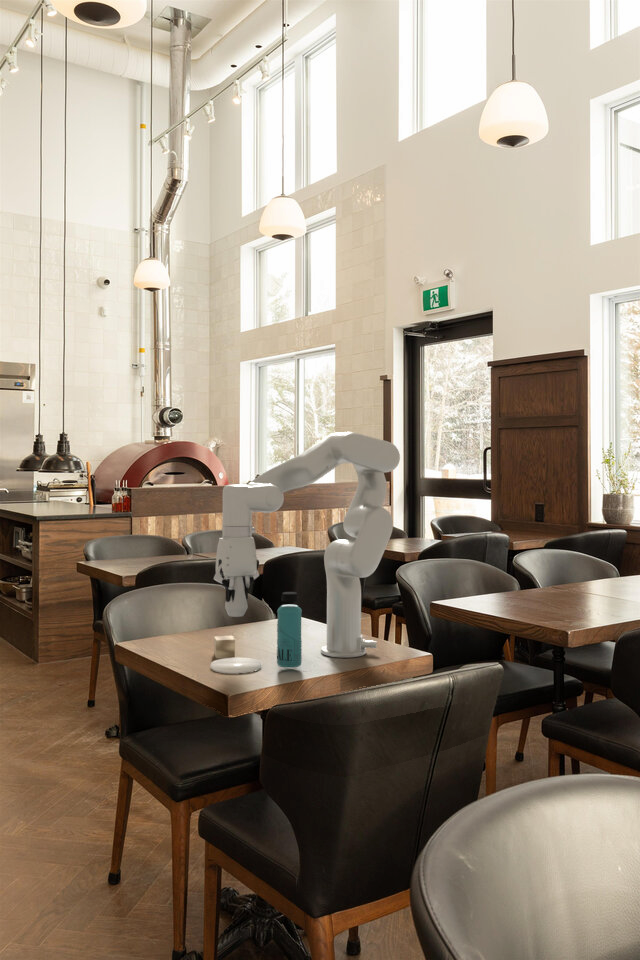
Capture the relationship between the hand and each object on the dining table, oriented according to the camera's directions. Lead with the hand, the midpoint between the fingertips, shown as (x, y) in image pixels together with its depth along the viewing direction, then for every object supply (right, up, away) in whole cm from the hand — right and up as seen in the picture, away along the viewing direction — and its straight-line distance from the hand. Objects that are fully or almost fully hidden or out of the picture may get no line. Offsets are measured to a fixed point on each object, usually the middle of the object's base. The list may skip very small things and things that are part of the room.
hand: (236, 603), depth 208 cm
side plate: (0, -17, 0) cm, 17 cm away
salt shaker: (0, -3, 0) cm, 3 cm away
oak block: (-5, -17, +13) cm, 21 cm away
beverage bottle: (+14, -17, -2) cm, 22 cm away
